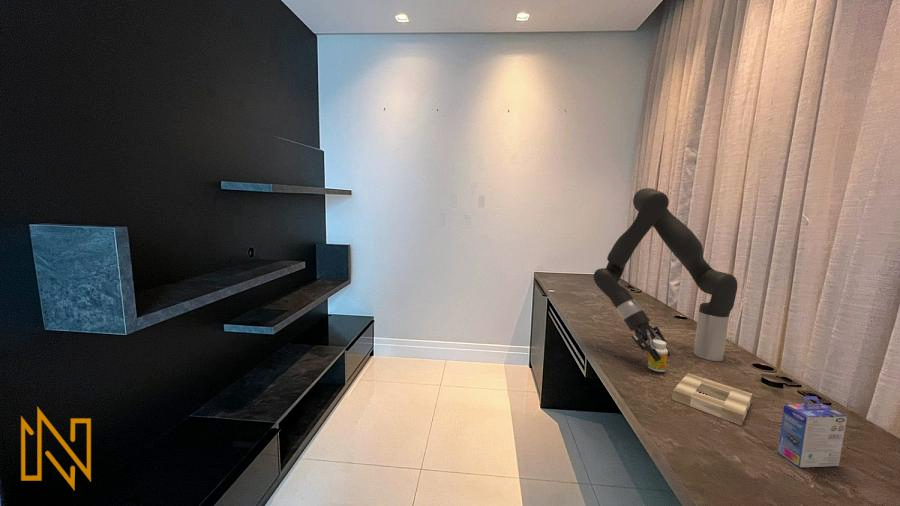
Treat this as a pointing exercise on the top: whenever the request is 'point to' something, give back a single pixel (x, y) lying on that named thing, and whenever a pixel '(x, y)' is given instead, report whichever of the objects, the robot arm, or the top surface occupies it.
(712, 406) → the light wooden square frame
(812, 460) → the ink cartridge box
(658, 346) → the supplement bottle
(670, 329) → the top surface
